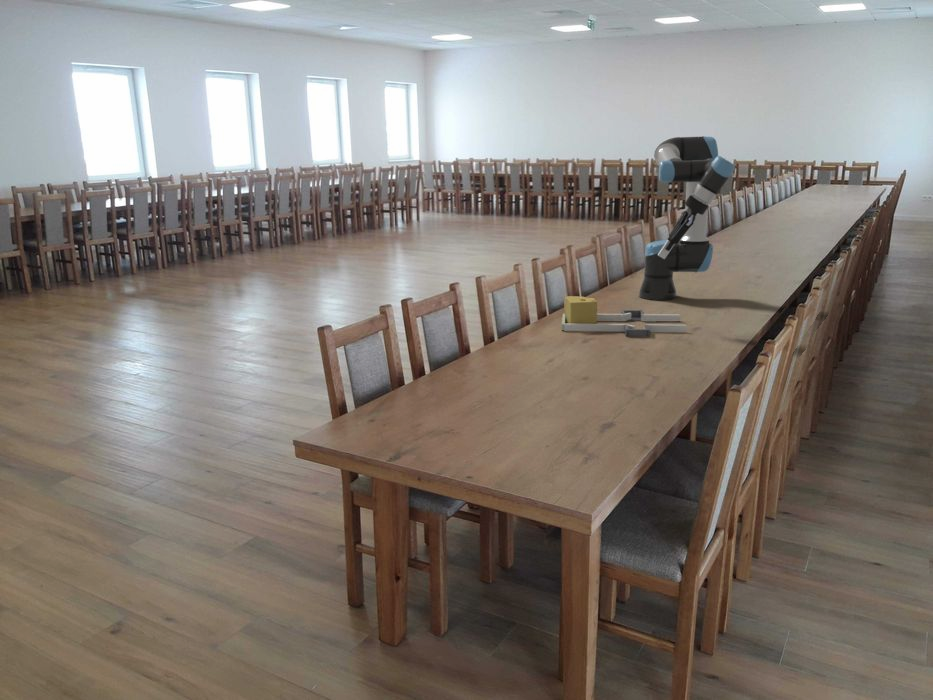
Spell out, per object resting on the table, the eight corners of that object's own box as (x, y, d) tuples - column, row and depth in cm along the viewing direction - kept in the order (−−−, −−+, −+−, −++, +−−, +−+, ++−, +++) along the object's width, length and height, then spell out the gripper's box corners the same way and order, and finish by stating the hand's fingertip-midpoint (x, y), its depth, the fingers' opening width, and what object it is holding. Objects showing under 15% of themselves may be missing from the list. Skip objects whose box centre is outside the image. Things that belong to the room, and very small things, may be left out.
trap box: (562, 315, 290) (563, 309, 289) (677, 316, 284) (678, 310, 283) (561, 335, 262) (561, 328, 262) (688, 337, 256) (689, 330, 255)
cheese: (591, 321, 281) (592, 295, 278) (597, 328, 271) (598, 301, 268) (563, 322, 281) (564, 296, 278) (569, 329, 270) (569, 302, 267)
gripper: (712, 209, 255) (672, 267, 264) (706, 201, 267) (667, 257, 276) (693, 198, 254) (653, 256, 264) (688, 190, 266) (650, 247, 275)
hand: (661, 256), depth 270 cm, fingers closed
